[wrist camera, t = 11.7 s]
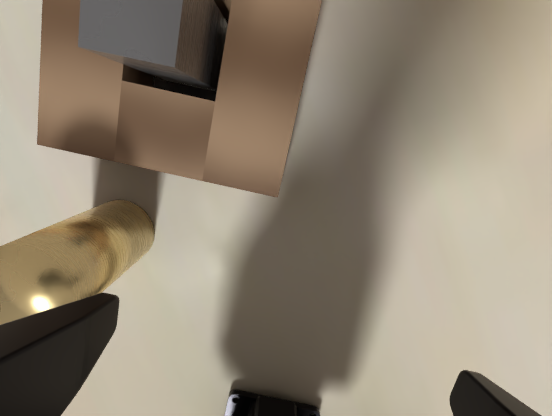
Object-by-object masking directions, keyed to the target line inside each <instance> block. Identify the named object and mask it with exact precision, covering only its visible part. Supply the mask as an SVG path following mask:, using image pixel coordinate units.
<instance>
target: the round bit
mask: <svg viewBox="0 0 552 416" xmlns="http://www.w3.org/2000/svg"><path fill="white" fill-rule="evenodd" d="M153 241H154V227H153V224H152V221H151V219H150V217H149V216H148V214H147V213H146V212H145V211H144V210H143V209H142V208H141V207H139V206H138V205H136V204H134V203H132V202H129V201H125V200H113V201H109V202H107V203H104V204H102V205H100V206H97V207H95V208H92V209H90V210H87V211H85V212H83V213H80V214H78V215H75V216H73V217H70V218H68V219H66V220H63V221H61V222H58V223H56V224H53V225H51V226H49V227H46V228H44V229H41V230H39V231H36V232H34V233H32V234H29V235H27V236H24V237H22V238H20V239H17V240H15V241H12V242H10V243H7V244H5V245H3V246H0V325H1V324H4V323H7V322H11V321H14V320H17V319H20V318H23V317H26V316H30V315H33V314H36V313H39V312H42V311H45V310H49V309H52V308H55V307H58V306H61V305H64V304H68V303H71V302H74V301H77V300H80V299H83V298H87V297H90V296H93V295H96V294H99V293H102V292H103V291H104V290H105V289H106V288H107V287H109V286H110V285H111V284H112V283H113V282H114V281H115V280H117V279H118V278H119V277H120V276H121V275H122V274H123V273H124V272H126V271H127V270H128V269H129V268H130V267H131V266H132V265H133V264H135V263H136V262H137V261H138V260H139V259H140V258H141V257H143V256H144V255H145V254H146V253H147V252H148V251H149V249H150V248H151V246H152V244H153Z"/></svg>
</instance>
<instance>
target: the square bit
mask: <svg viewBox="0 0 552 416" xmlns="http://www.w3.org/2000/svg"><path fill="white" fill-rule="evenodd" d="M227 27H228V24H227V22H226V20H225V19H224V17H223V15H222V13H221V12H220V10H219V8H218V7H217V5H216V3H215V1H214V0H80V16H79V36H78V47H80V48H82V49H85V50H87V51H90V52H93V53H95V54H98V55H100V56H103V57H106V58H108V59H111V60H113V61H116V62H119V63H121V64H124V65H126V66H129V67H132V68H134V69H137V70H140V71H142V72H145V73H147V74H150V75H153V76H155V77H158V78H160V79H163V80H166V81H170V82H174V83H179V84H184V85H188V86H193V87H198V88H203V89H207V90H212V91H217V88H218V81H219V75H220V69H221V63H222V57H223V51H224V45H225V39H226V33H227Z"/></svg>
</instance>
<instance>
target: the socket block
mask: <svg viewBox="0 0 552 416" xmlns="http://www.w3.org/2000/svg"><path fill="white" fill-rule="evenodd" d="M214 1H215V3H216V5H217V7H218V8H219V10H220V12H221V13H222V15H223V17H224V18H227V19H229V20H228V27H227V33H226V39H225V45H224V51H223V57H222V63H221V69H220V75H219V81H218V88H217V94H216V100H215V101H211V100H206V99H202V98H197V97H193V96H188V95H184V94H180V93H175V92H171V91H166V90H162V89H157V88H153V79H154V76H153V75H150V74H147V73H145V72H142V71H140V70H137V69H134V68H132V67H129V66H126V65H124V64H121V63H119V62H116V61H113V60H111V59H108V58H106V57H103V56H100V55H98V54H95V53H93V52H90V51H87V50H85V49H82V48H80V47H78V36H79V16H80V0H43V4H42V31H41V57H40V83H39V110H38V136H37V144H38V145H42V146H47V147H51V148H56V149H60V150H65V151H69V152H74V153H78V154H83V155H87V156H92V157H97V158H101V159H106V160H110V161H115V162H119V163H124V164H128V165H133V166H137V167H142V168H146V169H151V170H155V171H160V172H164V173H169V174H174V175H178V176H183V177H187V178H192V179H196V180H201V181H205V182H210V183H214V184H219V185H223V186H228V187H232V188H237V189H241V190H246V191H251V192H255V193H260V194H264V195H269V196H273V197H278V194H279V190H280V185H281V181H282V176H283V172H284V167H285V163H286V158H287V154H288V149H289V145H290V140H291V136H292V132H293V127H294V123H295V118H296V114H297V109H298V105H299V100H300V96H301V91H302V87H303V82H304V78H305V74H306V69H307V65H308V60H309V56H310V51H311V47H312V42H313V38H314V33H315V29H316V24H317V20H318V16H319V11H320V7H321V2H322V0H214Z"/></svg>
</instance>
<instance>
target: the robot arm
mask: <svg viewBox="0 0 552 416" xmlns="http://www.w3.org/2000/svg"><path fill="white" fill-rule="evenodd" d="M118 309H119V297H118V296H116V295H112V294H108V293H99V294H96V295H93V296H90V297H87V298H83V299H80V300H77V301H74V302H71V303H68V304H64V305H61V306H58V307H55V308H52V309H49V310H45V311H42V312H39V313H36V314H33V315H30V316H26V317H23V318H20V319H17V320H14V321H11V322H7V323H4V324H1V325H0V416H61V414H62V413H63V412H64V410H65V409H66V408H67V406H68V405H69V404H70V402H71V401H72V400H73V398H74V397H75V395H76V394H77V393H78V391H79V390H80V388H81V387H82V385H83V384H84V382H85V380H86V379H87V377H88V375H89V374H90V372H91V370H92V369H93V367H94V365H95V364H96V362H97V360H98V359H99V357H100V355H101V354H102V352H103V350H104V349H105V347H106V345H107V344H108V342H109V340H110V339H111V337H112V335H113V334H114V331H115V329H116V326H117V318H118ZM234 397H236V398H238V399H235V398H234ZM450 406H451V409H452V412H453V416H541V415H540V414H538V413H537V412H535V411H534V410H532V409H531V408H530V407H528V406H527V405H525V404H524V403H522V402H521V401H519V400H518V399H517V398H515V397H514V396H512V395H511V394H509V393H508V392H506V391H505V390H503V389H502V388H501V387H499V386H498V385H496V384H495V383H493V382H492V381H490V380H489V379H488V378H486V377H485V376H483V375H482V374H480V373H477V372H472V371H468V370H463V371H461V372H460V373H459V375H458V378H457V380H456V382H455V385H454V387H453V390H452V392H451V395H450ZM311 414H314V415H311ZM225 416H320V411H319V409H318V408H317V407H315V406H311V405H306V404H302V403H297V402H292V401H287V400H283V399H278V398H273V397H268V396H264V395H259V394H254V393H249V392H245V391H240V390H233V391H231V392H230V394H229V398H228V402H227V407H226V411H225Z"/></svg>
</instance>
